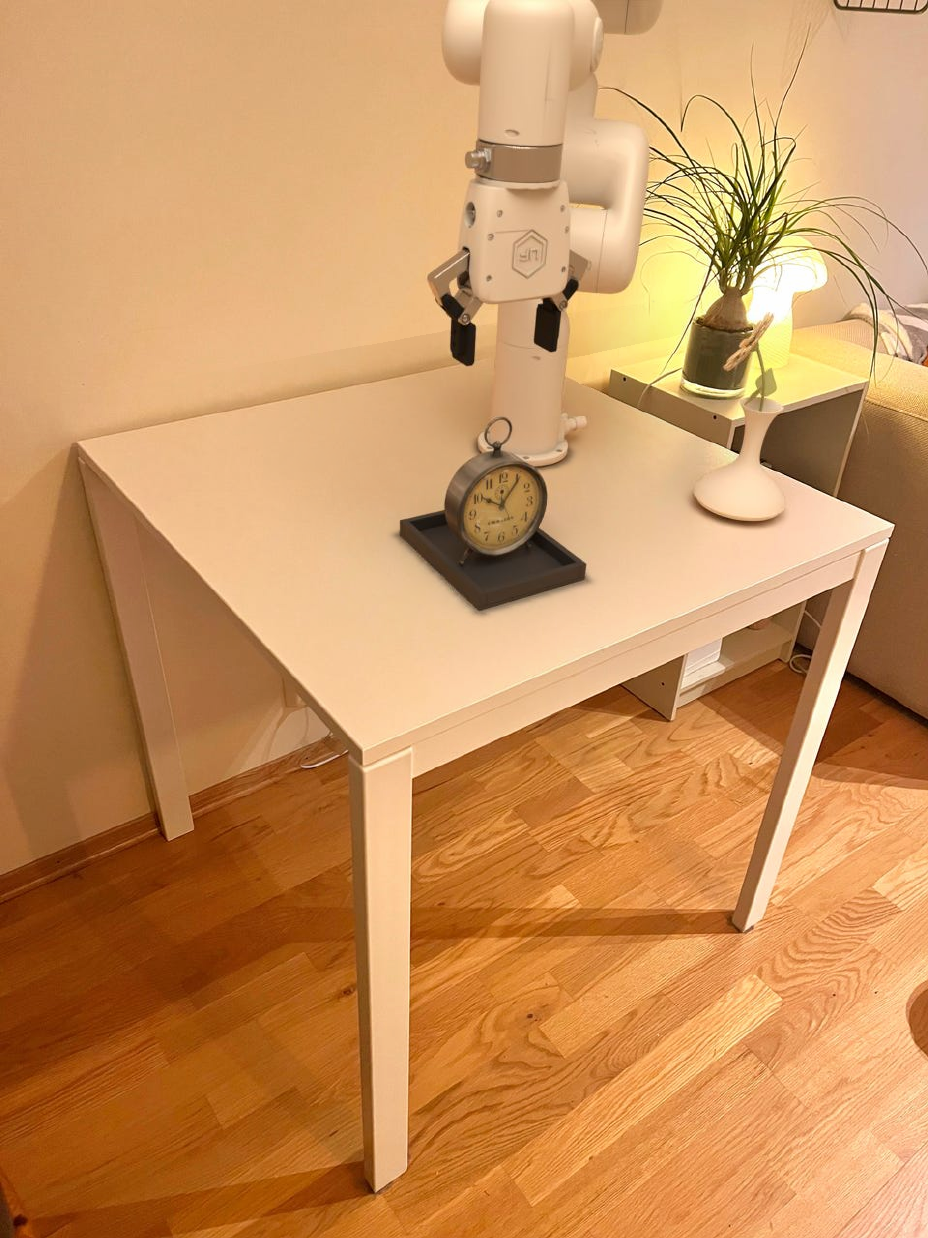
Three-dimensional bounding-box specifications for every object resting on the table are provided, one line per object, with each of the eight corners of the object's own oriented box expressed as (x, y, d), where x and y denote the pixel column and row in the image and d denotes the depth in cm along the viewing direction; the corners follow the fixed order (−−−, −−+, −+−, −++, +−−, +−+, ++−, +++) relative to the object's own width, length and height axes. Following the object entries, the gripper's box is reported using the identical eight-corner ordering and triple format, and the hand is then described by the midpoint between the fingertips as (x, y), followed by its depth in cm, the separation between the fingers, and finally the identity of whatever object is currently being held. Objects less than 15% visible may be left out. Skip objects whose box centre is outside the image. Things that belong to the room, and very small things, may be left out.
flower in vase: (722, 480, 123) (766, 288, 108) (799, 511, 116) (856, 311, 102) (665, 509, 115) (705, 307, 101) (745, 544, 108) (798, 333, 94)
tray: (497, 511, 112) (499, 496, 111) (584, 579, 100) (586, 563, 99) (399, 535, 106) (399, 519, 105) (479, 610, 94) (480, 594, 93)
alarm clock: (457, 574, 99) (465, 433, 90) (436, 551, 103) (440, 414, 93) (544, 554, 103) (559, 418, 94) (520, 533, 107) (532, 400, 98)
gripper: (455, 176, 74) (448, 380, 84) (622, 166, 82) (597, 354, 92) (411, 160, 79) (409, 354, 89) (572, 152, 87) (553, 332, 97)
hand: (504, 354), depth 90 cm, fingers open, 9 cm apart
